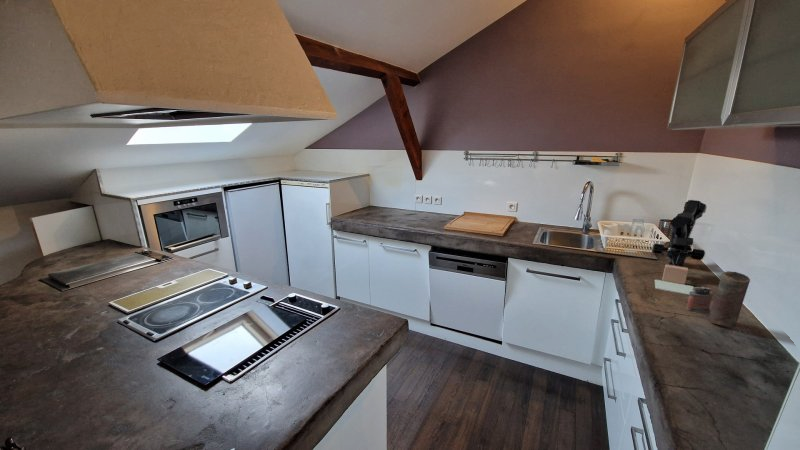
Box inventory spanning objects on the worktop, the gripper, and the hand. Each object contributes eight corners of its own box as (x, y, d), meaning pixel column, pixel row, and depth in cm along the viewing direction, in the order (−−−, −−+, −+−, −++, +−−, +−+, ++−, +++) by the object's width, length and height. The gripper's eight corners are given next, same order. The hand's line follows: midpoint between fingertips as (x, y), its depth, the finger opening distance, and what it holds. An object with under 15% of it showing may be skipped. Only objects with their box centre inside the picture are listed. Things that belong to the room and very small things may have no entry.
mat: (654, 280, 157) (654, 279, 157) (692, 287, 149) (693, 286, 149) (655, 288, 149) (655, 287, 149) (696, 296, 142) (696, 295, 141)
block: (662, 278, 158) (665, 264, 155) (683, 282, 153) (687, 267, 150) (662, 281, 156) (665, 266, 153) (684, 285, 151) (688, 270, 148)
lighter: (704, 307, 133) (710, 285, 130) (711, 312, 130) (717, 289, 127) (683, 307, 134) (688, 285, 131) (689, 311, 130) (695, 289, 128)
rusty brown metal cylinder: (736, 323, 122) (751, 274, 116) (735, 332, 117) (750, 281, 111) (708, 316, 127) (721, 268, 122) (706, 324, 122) (719, 275, 117)
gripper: (657, 227, 158) (653, 256, 152) (709, 233, 147) (707, 264, 142) (653, 238, 166) (650, 266, 161) (702, 244, 156) (700, 274, 150)
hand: (675, 267), depth 153 cm, fingers closed
